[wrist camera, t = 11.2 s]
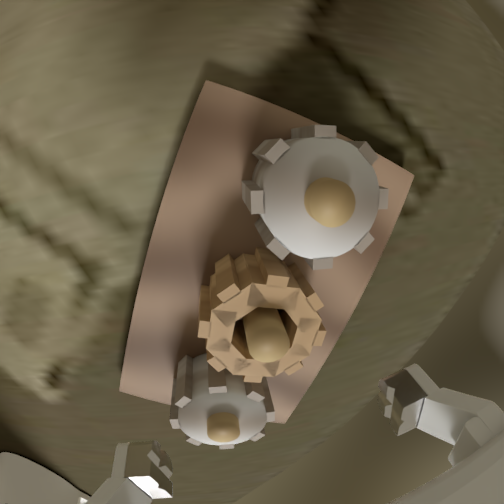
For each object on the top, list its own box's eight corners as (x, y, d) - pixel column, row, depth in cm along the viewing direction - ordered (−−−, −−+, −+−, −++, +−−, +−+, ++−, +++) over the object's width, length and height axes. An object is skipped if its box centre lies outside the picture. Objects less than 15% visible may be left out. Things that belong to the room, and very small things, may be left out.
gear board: (281, 411, 25) (297, 468, 19) (122, 378, 22) (106, 439, 16) (402, 172, 19) (466, 188, 13) (206, 85, 16) (203, 53, 10)
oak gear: (241, 357, 20) (247, 398, 17) (177, 289, 18) (170, 325, 14) (323, 305, 20) (345, 339, 16) (269, 225, 17) (285, 248, 14)
